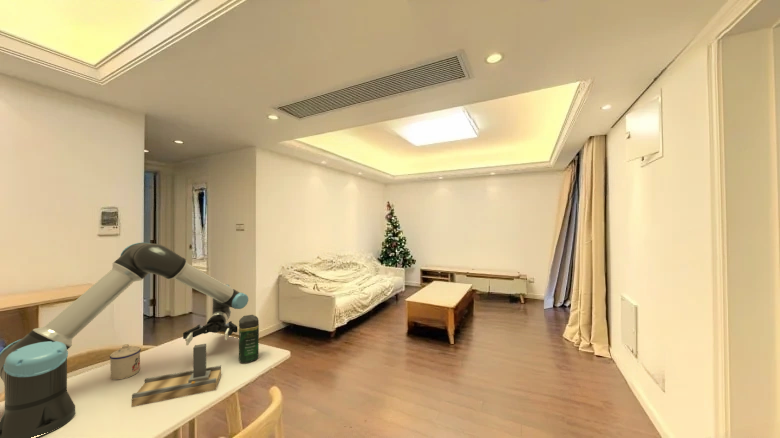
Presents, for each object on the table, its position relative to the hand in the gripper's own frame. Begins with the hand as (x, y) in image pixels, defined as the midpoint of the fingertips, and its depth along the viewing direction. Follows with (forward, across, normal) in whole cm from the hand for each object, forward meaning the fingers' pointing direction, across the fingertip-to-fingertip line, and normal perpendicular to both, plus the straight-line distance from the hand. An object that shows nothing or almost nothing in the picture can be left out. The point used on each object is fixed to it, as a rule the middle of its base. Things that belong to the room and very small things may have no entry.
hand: (206, 339), depth 115 cm
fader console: (+11, +6, -13) cm, 18 cm away
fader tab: (+11, 0, -10) cm, 15 cm away
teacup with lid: (-11, +30, -13) cm, 35 cm away
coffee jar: (-5, -15, -13) cm, 21 cm away
